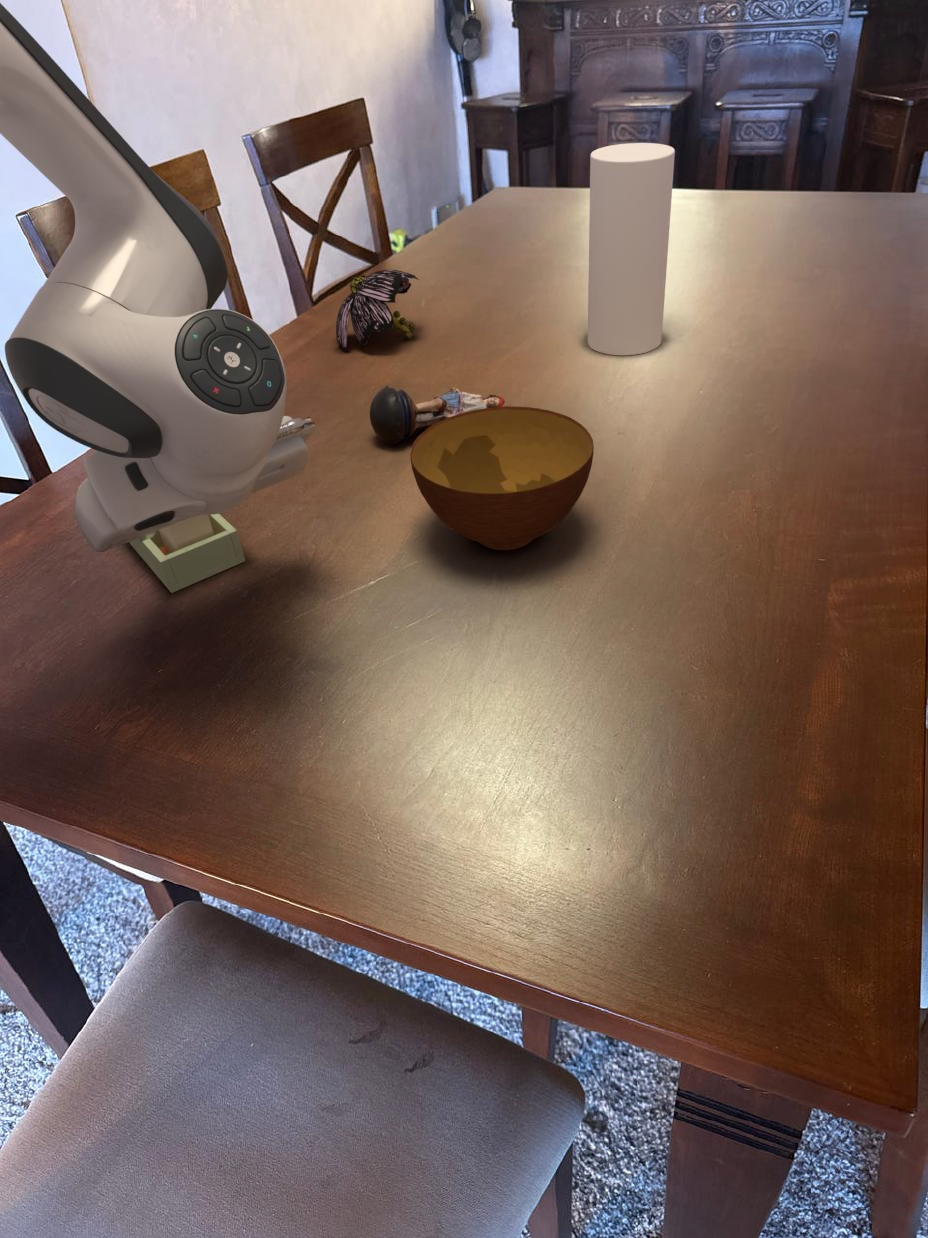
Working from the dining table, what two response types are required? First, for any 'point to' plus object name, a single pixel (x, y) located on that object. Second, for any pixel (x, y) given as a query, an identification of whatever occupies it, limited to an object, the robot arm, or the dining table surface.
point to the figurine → (420, 411)
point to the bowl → (503, 472)
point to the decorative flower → (373, 306)
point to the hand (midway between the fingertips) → (190, 513)
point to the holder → (193, 556)
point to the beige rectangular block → (186, 533)
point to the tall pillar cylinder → (628, 246)
